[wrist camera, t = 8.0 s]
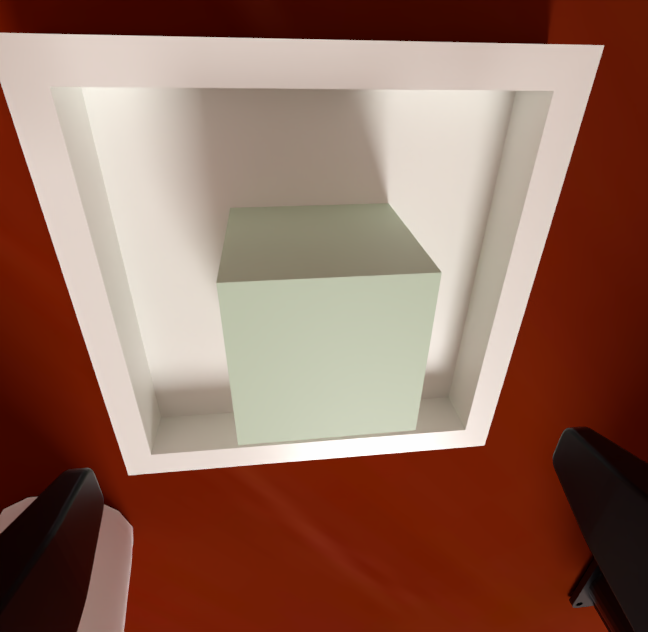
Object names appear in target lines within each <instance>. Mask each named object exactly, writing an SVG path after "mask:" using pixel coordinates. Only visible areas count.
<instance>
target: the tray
mask: <svg viewBox="0 0 648 632" xmlns="http://www.w3.org/2000/svg"><path fill="white" fill-rule="evenodd" d="M603 48H604V45H565V44H517V43H468V42H420V41H372V40H324V39H275V38H227V37H179V36H131V35H83V34H34V33H0V82H1V86H2V89H3V92H4V95H5V98H6V101H7V104H8V107H9V110H10V113H11V116H12V119H13V122H14V125H15V128H16V132H17V135H18V138H19V141H20V144H21V147H22V150H23V153H24V156H25V159H26V162H27V165H28V168H29V171H30V174H31V178H32V181H33V184H34V187H35V190H36V193H37V196H38V199H39V202H40V205H41V208H42V211H43V214H44V217H45V221H46V224H47V227H48V230H49V233H50V236H51V239H52V242H53V245H54V248H55V251H56V254H57V257H58V260H59V263H60V267H61V270H62V273H63V276H64V279H65V282H66V285H67V288H68V291H69V294H70V297H71V300H72V303H73V306H74V309H75V313H76V316H77V319H78V322H79V325H80V328H81V331H82V334H83V337H84V340H85V343H86V346H87V349H88V352H89V355H90V359H91V362H92V365H93V368H94V371H95V374H96V377H97V380H98V383H99V386H100V389H101V392H102V395H103V398H104V401H105V405H106V408H107V411H108V414H109V417H110V420H111V423H112V426H113V429H114V432H115V435H116V438H117V441H118V444H119V447H120V451H121V454H122V457H123V460H124V463H125V466H126V469H127V472H128V475H138V474H150V473H161V472H173V471H185V470H197V469H209V468H221V467H233V466H245V465H257V464H269V463H281V462H293V461H305V460H317V459H329V458H341V457H353V456H365V455H377V454H389V453H401V452H413V451H425V450H437V449H449V448H461V447H472V446H484V445H485V442H486V438H487V435H488V432H489V428H490V425H491V422H492V418H493V415H494V412H495V408H496V405H497V402H498V398H499V395H500V392H501V388H502V385H503V382H504V378H505V375H506V372H507V368H508V365H509V362H510V358H511V355H512V352H513V348H514V345H515V342H516V338H517V335H518V332H519V328H520V325H521V322H522V318H523V315H524V312H525V308H526V305H527V302H528V298H529V295H530V292H531V288H532V285H533V282H534V278H535V275H536V272H537V268H538V265H539V262H540V258H541V255H542V252H543V248H544V245H545V242H546V238H547V235H548V232H549V228H550V225H551V222H552V218H553V215H554V212H555V208H556V205H557V202H558V198H559V195H560V192H561V188H562V185H563V182H564V178H565V175H566V172H567V168H568V165H569V162H570V158H571V155H572V152H573V148H574V145H575V142H576V138H577V135H578V132H579V128H580V125H581V122H582V118H583V115H584V112H585V108H586V105H587V102H588V98H589V95H590V92H591V88H592V85H593V82H594V78H595V75H596V72H597V68H598V65H599V62H600V58H601V55H602V52H603ZM379 203H389V205H390V206H391V207H392V208H393V210H394V211H395V212H396V214H397V215H398V216H399V218H400V219H401V220H402V221H403V223H404V224H405V225H406V227H407V228H408V229H409V231H410V232H411V233H412V234H413V236H414V237H415V238H416V240H417V241H418V242H419V244H420V245H421V246H422V247H423V249H424V250H425V251H426V253H427V254H428V255H429V256H430V258H431V259H432V260H433V262H434V263H435V264H436V266H437V267H438V268H439V269H440V271H441V272H442V274H441V280H440V286H439V292H438V298H437V304H436V310H435V316H434V322H433V328H432V334H431V340H430V346H429V353H428V359H427V365H426V371H425V377H424V383H423V389H422V395H421V401H420V407H419V413H418V419H417V425H416V430H412V431H400V432H388V433H376V434H365V435H353V436H341V437H329V438H317V439H305V440H294V441H282V442H270V443H258V444H246V445H238V441H237V433H236V426H235V418H234V411H233V404H232V396H231V389H230V381H229V374H228V366H227V359H226V352H225V344H224V337H223V329H222V322H221V314H220V307H219V300H218V292H217V285H216V282H217V276H218V271H219V265H220V260H221V255H222V249H223V244H224V239H225V233H226V228H227V222H228V217H229V212H230V208H242V207H276V206H311V205H345V204H379Z"/></svg>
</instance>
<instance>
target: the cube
mask: <svg viewBox="0 0 648 632" xmlns="http://www.w3.org/2000/svg"><path fill="white" fill-rule="evenodd" d="M441 274H442V272H441V271H440V269H439V268H438V267H437V266H436V264H435V263H434V262H433V260H432V259H431V258H430V256H429V255H428V254H427V253H426V251H425V250H424V249H423V247H422V246H421V245H420V244H419V242H418V241H417V240H416V238H415V237H414V236H413V234H412V233H411V232H410V231H409V229H408V228H407V227H406V225H405V224H404V223H403V221H402V220H401V219H400V218H399V216H398V215H397V214H396V212H395V211H394V210H393V208H392V207H391V206H390V205H389V203H379V204H345V205H311V206H276V207H242V208H230V212H229V217H228V222H227V228H226V233H225V239H224V244H223V249H222V255H221V260H220V265H219V271H218V276H217V282H216V285H217V292H218V300H219V307H220V314H221V322H222V329H223V337H224V344H225V352H226V359H227V366H228V374H229V381H230V389H231V396H232V404H233V411H234V418H235V426H236V433H237V441H238V445H246V444H258V443H270V442H282V441H294V440H305V439H317V438H329V437H341V436H353V435H365V434H376V433H388V432H400V431H412V430H416V425H417V419H418V413H419V407H420V401H421V395H422V389H423V383H424V377H425V371H426V365H427V359H428V353H429V346H430V340H431V334H432V328H433V322H434V316H435V310H436V304H437V298H438V292H439V286H440V280H441Z"/></svg>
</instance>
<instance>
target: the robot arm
mask: <svg viewBox="0 0 648 632" xmlns="http://www.w3.org/2000/svg"><path fill="white" fill-rule="evenodd" d="M553 465H554V468H555V471H556V473H557V476H558V478H559V480H560V483H561V485H562V487H563V490H564V492H565V494H566V497H567V499H568V501H569V504H570V506H571V509H572V511H573V513H574V516H575V518H576V520H577V523H578V525H579V527H580V530H581V532H582V534H583V536H584V538H585V540H586V542H587V544H588V546H589V548H590V550H591V552H592V554H593V556H594V559H593V561H592V563H591V564H590V566H589V568H588V569H587V571H586V573H585V574H584V576H583V578H582V579H581V581H580V583H579V584H578V586H577V588H576V589H575V591H574V593H573V594H572V596H571V598H570V599H569V601H570V603H571V604H572V606H573V607H574V608H579V607H587V606H594V607H595V609H596V611H597V612H598V614H599V616H600V617H601V619H602V621H603V623H604V624H605V626H606V628H607V629H608V631H609V632H648V463H646V462H644V461H643V460H641V459H640V458H638V457H636V456H635V455H633V454H631V453H630V452H628V451H626V450H625V449H623V448H621V447H620V446H618V445H617V444H615V443H613V442H612V441H610V440H608V439H607V438H605V437H603V436H602V435H600V434H599V433H597V432H595V431H594V430H592V429H590V428H588V427H572V428H567V429H565V430H564V431H563V433H562V435H561V437H560V440H559V442H558V444H557V447H556V449H555V451H554V454H553ZM103 509H104V498H103V494H102V492H101V489H100V487H99V484H98V482H97V479H96V476H95V474H94V472H93V470H92V469H90V468H78V469H69V470H66V471H64V472H63V473H62V474H61V475H60V476H59V477H57V478H56V479H55V480H54V481H53V482H52V483H51V484H50V485H49V486H48V487H47V488H46V489H45V490H44V491H43V492H42V493H41V494H40V495H39V496H38V497H37V498H36V499H35V500H34V501H33V502H32V503H31V504H30V505H29V506H28V507H27V508H26V509H25V510H24V511H23V512H22V513H21V514H20V515H19V516H18V517H17V518H16V519H15V520H14V521H13V522H12V523H11V524H10V525H9V526H8V527H7V528H6V529H4V530H3V531H2V532H1V533H0V632H77V630H78V627H79V623H80V620H81V617H82V613H83V610H84V606H85V602H86V598H87V594H88V589H89V584H90V579H91V574H92V568H93V563H94V558H95V552H96V547H97V542H98V536H99V531H100V525H101V520H102V515H103Z"/></svg>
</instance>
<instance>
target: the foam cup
mask: <svg viewBox="0 0 648 632" xmlns="http://www.w3.org/2000/svg"><path fill="white" fill-rule="evenodd" d="M37 497H38V496H37ZM37 497H29V498H26V499H24V500H22V501H20V502H18V503H15V504H13V505H11V506H9V507H7V508H5V509H3V511H2V513H1V514H0V533H1V532H2V531H3V530H4V529H6V528H7V527H8V526H9V525H10V524H11V523H12V522H13V521H14V520H15V519H16V518H17V517H18V516H19V515H20V514H21V513H22V512H23V511H24V510H25V509H26V508H27V507H28V506H29V505H30V504H31V503H32V502H33V501H34V500H35V499H36V498H37ZM132 547H133V527H132V526H131V525H130V523H129V522H128V521H127V520H126V519H125V518H124V517H123V515H122V514H121V513H120V512H119V511H118V510H115V509H113V508H111V507H109V506H107V505H105V504H104V509H103V515H102V520H101V525H100V531H99V536H98V542H97V547H96V552H95V558H94V563H93V568H92V574H91V579H90V584H89V589H88V594H87V598H86V602H85V606H84V610H83V613H82V617H81V620H80V623H79V627H78V630H77V632H124V624H125V615H126V606H127V597H128V589H129V580H130V571H131V562H132Z"/></svg>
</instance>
